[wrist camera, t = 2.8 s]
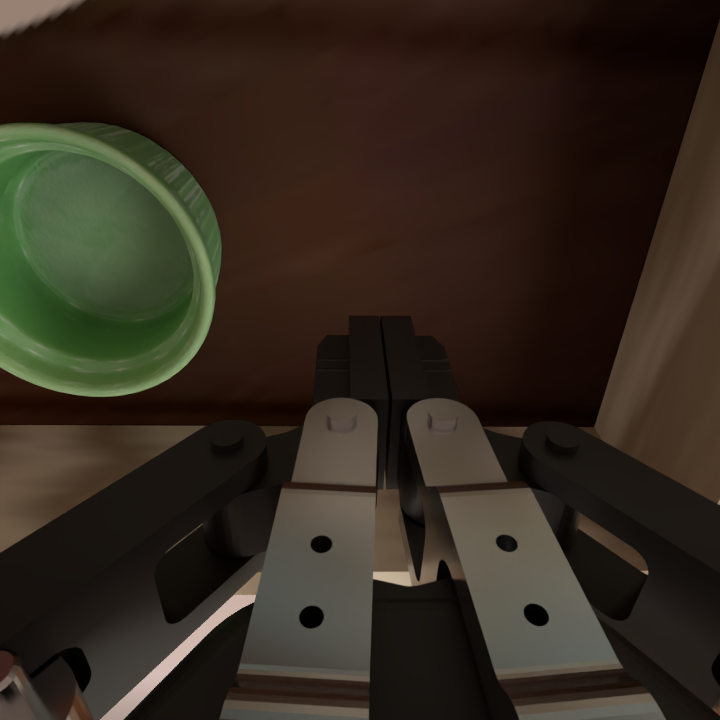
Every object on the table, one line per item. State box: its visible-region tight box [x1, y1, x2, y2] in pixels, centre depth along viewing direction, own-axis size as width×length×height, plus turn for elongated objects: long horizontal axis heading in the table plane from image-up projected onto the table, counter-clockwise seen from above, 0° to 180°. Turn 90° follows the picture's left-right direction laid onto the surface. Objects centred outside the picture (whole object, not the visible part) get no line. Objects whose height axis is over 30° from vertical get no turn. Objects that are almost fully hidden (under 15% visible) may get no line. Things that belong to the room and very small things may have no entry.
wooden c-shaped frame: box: [0, 20, 720, 595], centre depth 17 cm, size 32×20×8 cm, turn 89°
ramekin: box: [0, 122, 222, 397], centre depth 19 cm, size 9×9×4 cm
